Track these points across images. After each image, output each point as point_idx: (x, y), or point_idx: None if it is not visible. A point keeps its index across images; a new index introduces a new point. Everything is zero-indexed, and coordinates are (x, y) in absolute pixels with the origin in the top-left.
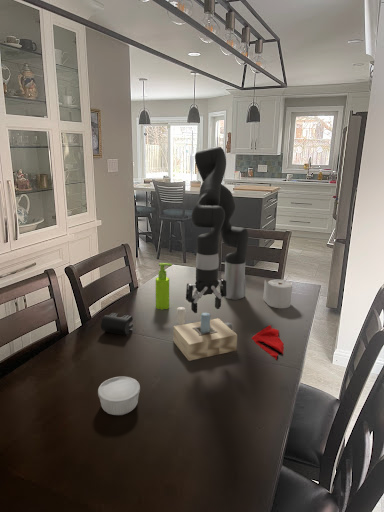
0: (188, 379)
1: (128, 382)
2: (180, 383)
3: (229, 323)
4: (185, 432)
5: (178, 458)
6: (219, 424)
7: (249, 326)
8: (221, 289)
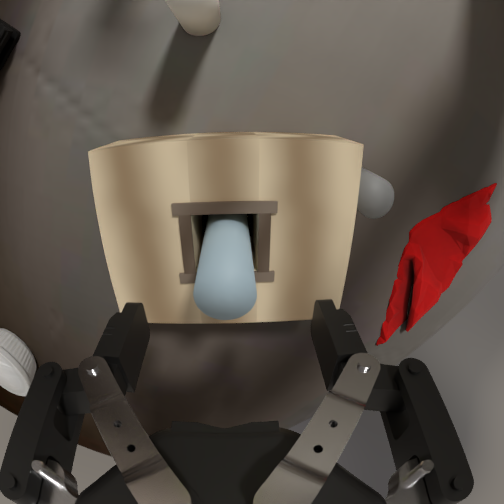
0: None
1: (8, 367)
2: None
3: (386, 194)
4: None
5: (101, 435)
6: (158, 429)
7: (456, 153)
8: (415, 408)
